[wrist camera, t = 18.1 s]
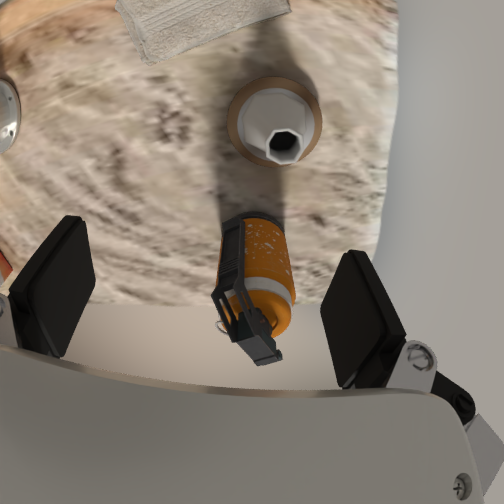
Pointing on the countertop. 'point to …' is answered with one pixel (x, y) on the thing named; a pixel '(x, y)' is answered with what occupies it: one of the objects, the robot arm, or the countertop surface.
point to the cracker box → (4, 269)
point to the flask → (275, 126)
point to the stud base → (267, 84)
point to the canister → (254, 285)
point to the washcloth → (190, 22)
